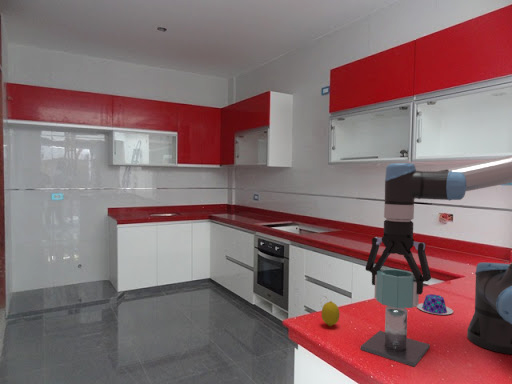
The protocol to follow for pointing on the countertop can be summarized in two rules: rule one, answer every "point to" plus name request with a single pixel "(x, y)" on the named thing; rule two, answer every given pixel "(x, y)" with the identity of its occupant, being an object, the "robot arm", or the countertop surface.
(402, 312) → the domed lamp fixture
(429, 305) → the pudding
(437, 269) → the countertop surface
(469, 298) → the countertop surface
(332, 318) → the lemon
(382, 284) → the collar
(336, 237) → the countertop surface
